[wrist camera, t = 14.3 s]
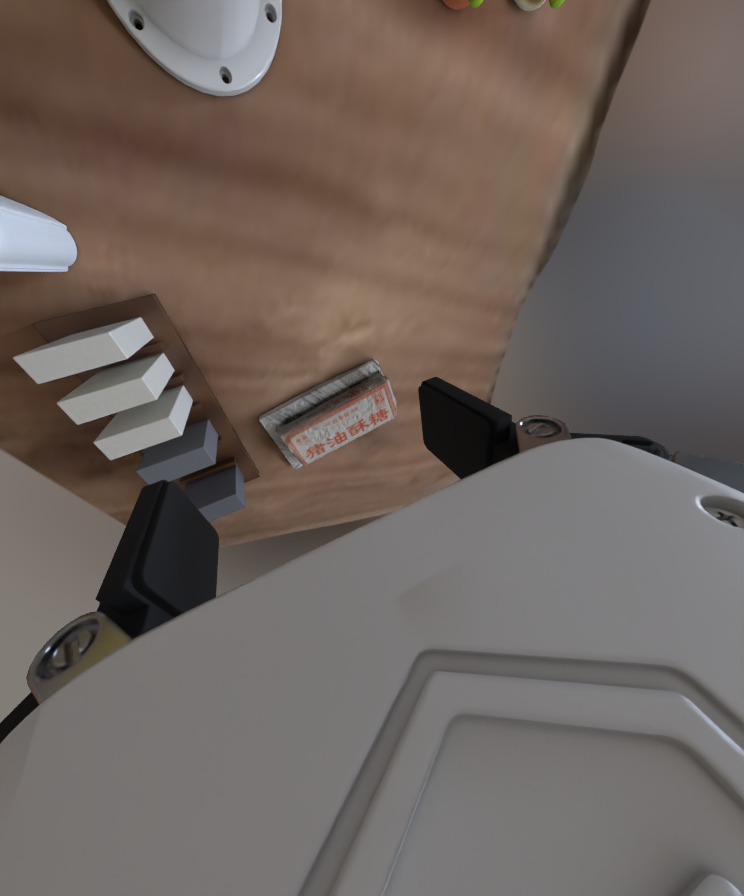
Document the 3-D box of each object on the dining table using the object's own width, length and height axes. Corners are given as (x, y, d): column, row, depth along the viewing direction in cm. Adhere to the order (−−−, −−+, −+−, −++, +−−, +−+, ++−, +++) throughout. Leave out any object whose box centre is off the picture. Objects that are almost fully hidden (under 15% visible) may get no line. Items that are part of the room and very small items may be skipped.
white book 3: (125, 402, 30) (92, 442, 23) (183, 384, 31) (169, 416, 24) (137, 418, 31) (110, 460, 24) (193, 400, 33) (182, 435, 26)
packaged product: (388, 364, 36) (407, 424, 42) (373, 355, 40) (392, 412, 46) (259, 431, 33) (298, 484, 40) (256, 414, 37) (292, 466, 43)
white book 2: (100, 370, 28) (55, 403, 21) (163, 352, 29) (141, 377, 22) (114, 388, 29) (76, 425, 22) (175, 370, 30) (157, 399, 23)
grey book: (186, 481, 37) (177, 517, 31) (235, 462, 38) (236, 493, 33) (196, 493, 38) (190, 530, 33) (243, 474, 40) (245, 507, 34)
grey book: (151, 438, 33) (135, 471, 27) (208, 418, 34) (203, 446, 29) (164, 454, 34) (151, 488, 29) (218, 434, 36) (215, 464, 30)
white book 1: (71, 334, 26) (11, 357, 19) (141, 316, 27) (108, 331, 20) (88, 355, 27) (37, 384, 20) (154, 337, 28) (128, 359, 21)
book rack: (37, 322, 25) (23, 325, 24) (155, 293, 28) (149, 294, 26) (189, 500, 40) (187, 511, 38) (259, 472, 42) (260, 481, 40)
